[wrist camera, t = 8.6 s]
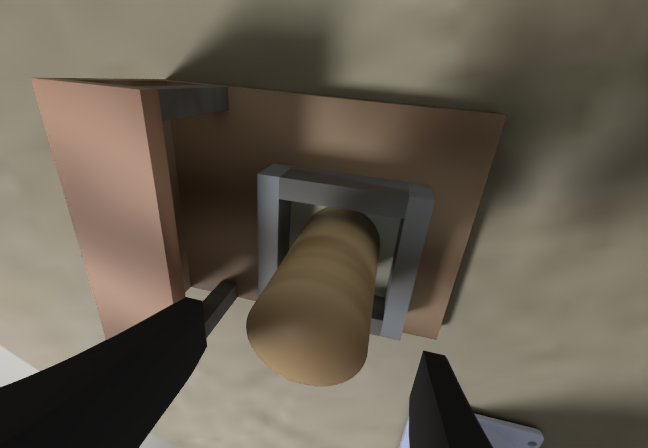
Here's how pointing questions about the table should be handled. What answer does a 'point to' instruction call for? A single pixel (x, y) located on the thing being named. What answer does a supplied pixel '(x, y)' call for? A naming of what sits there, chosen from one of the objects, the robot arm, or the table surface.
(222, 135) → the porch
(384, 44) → the table surface
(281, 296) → the peg
